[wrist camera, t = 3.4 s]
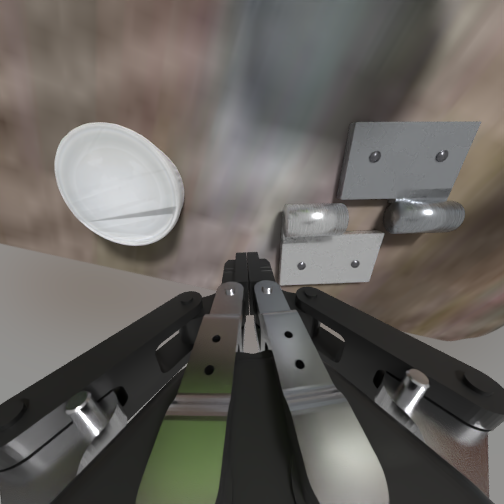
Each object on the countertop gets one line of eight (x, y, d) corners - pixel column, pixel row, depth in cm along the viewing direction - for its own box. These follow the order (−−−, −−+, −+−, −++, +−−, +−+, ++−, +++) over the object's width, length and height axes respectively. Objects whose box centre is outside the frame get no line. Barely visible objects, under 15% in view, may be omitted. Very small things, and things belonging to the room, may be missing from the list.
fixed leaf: (473, 123, 21) (522, 115, 17) (429, 226, 26) (459, 236, 23) (350, 124, 20) (373, 115, 17) (330, 229, 26) (345, 240, 22)
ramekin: (155, 246, 26) (135, 265, 21) (75, 182, 21) (28, 186, 17) (211, 192, 23) (203, 199, 18) (132, 106, 19) (95, 86, 14)
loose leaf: (388, 199, 24) (413, 205, 20) (364, 277, 29) (381, 293, 26) (283, 201, 23) (290, 208, 20) (278, 280, 29) (283, 297, 25)
